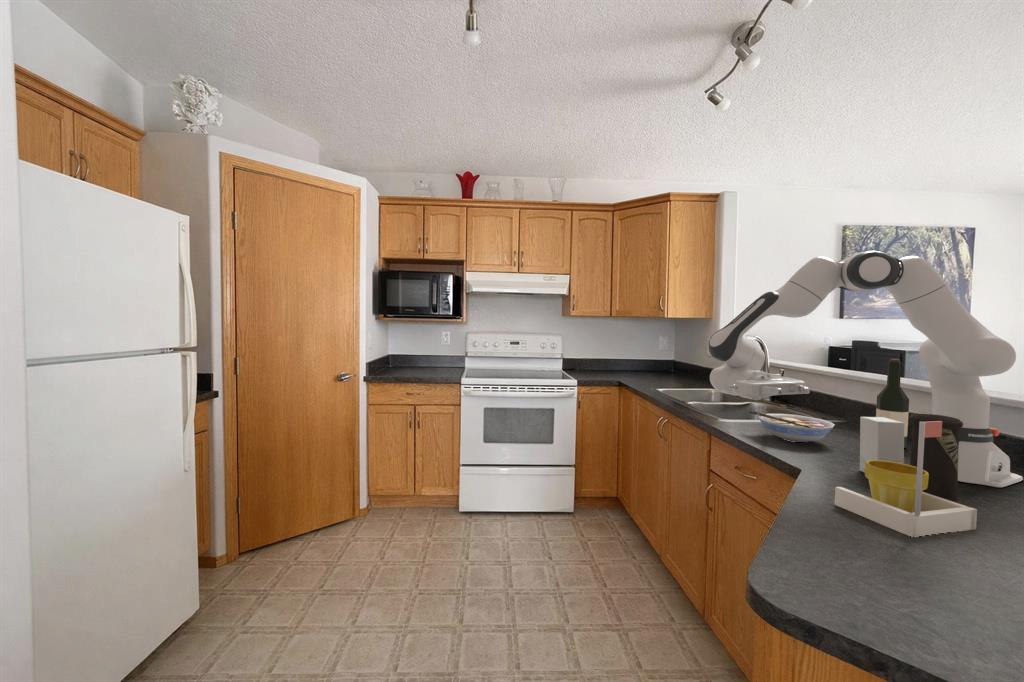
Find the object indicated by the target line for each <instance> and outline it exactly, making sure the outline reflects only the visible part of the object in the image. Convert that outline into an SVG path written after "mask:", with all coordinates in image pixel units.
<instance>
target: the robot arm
mask: <svg viewBox="0 0 1024 682" xmlns="http://www.w3.org/2000/svg"><path fill="white" fill-rule="evenodd" d="M837 288H838V289H843V290H844V291H845V290H846V291H851V292H865V291H870V290H877V289H882V288H884V289H885V290H886V291H888V292H889V293H890V294H891V295H892V297H893V299H894V301H895V302H896V303H897V305H898V306H899V308H900V309H901V310H902V313H903V314H904V315H905V317H906V318H907V320H908V322H910V325H912V327H913V328H914V329H915V330H917V331H918V332H921V334H923V335H924V336H925V337H926V338H927V339H926V340H924V341H923V342H922V343H921V344H920V347H919V350H918V351H919V352H918V354H919V356H918V357H919V359H920V360H921V361H922V363H923V364H924V366H925V369H926V372H927V377H928V380H929V384H930V390H931V413H930V414H934V415H943V416H948V417H953V418H957V419H959V420H960V421H962V422H963V426H962V427H961V429H959V450H958V482H963V483H968V484H977V485H983V486H989V487H993V488H1004V487H1009V486H1011V485H1013V484H1016V483H1019V482H1021V481H1022V480H1023V481H1024V477H1023V476H1022V475H1019V474H1017V473H1013V472H1011V459H1010V456H1009V455H1007V454H1006V453H1005V452H1004V451H1002V449H1001V448H999V447H998V446H997V445H996V444H995V443H994V437H998V436H999V435H1000V433H1001V431H1000V429H999V428H996V427H995V428H993V427H990V412H991V411H990V410H991V399H990V396H989V395H988V394H987V393H986V391H985V389H984V388H983V385H982V383H981V379H980V378H981V377H991V376H996V375H1001V374H1004V373H1005V372H1008V371H1009V370H1010V369H1011V368H1012V367H1014V364H1015V362H1016V359H1017V354H1016V351H1015V347H1013V345H1012V344H1011V343H1010V342H1008V341H1007V340H1004V339H1002V338H1000V337H999V336H997V335H995V334H994V333H993V332H991V330H989V329H988V328H987V327H986V326H985V325H983V324H982V322H980V321H979V320H977V319H976V317H974V316H973V315H972V314H971V313H970V312H969V311H968V310H967V309H966V308H965V307H964V306H963V304H962V303H961V302H960V300H959V299H958V298H957V296H956V295H955V294H954V292H953V291H952V289H951V288H950V287H949V285H948V284H947V282H946V281H945V280H944V278H943V277H942V276H941V274H939V272H938V271H937V270H936V269H935V267H933V266H932V264H930V263H929V262H928V261H927V260H925V259H924V258H923V257H921V256H919V255H907V256H906V255H905V256H903V257H900V258H897V257H895V256H892V255H890V254H887V252H883V251H878V250H868V251H861V252H857V253H854V254H852V255H850V256H848V257H846V258H845V257H844V258H843V259H841V260H838V261H835V260H834V259H832V258H830V257H827V256H816V257H813V258H811V259H810V260H809V261H807V262H805V264H804V265H802V266H801V267H800V268H799V269H798V270H797V271H795V272H794V274H793V275H792V276H790V278H789V279H788V281H786V282H785V284H783V285H782V286H781V287H779V288H778V289H775V290H774V291H768V292H765V293H763V294H761V295H760V296H759V297H758V298H756V299H755V300H754V301H753V302H751V303H750V304H749V305H748V306H747V307H746V308H744V310H742V311H741V312H740V313H739V314H738V315H736V316H735V317H734V318H733V319H732V320H731V321H729V323H728V324H726V325H725V326H723V327H722V328H720V329H719V330H717V331H716V332H714V333H713V334H712V335H711V337H710V338H709V340H708V351H709V354H710V356H711V357H713V358H714V359H716V360H718V361H721V362H723V364H722V365H720V366H719V367H715V368H713V369H711V372H710V374H709V382H710V384H711V386H712V387H713V388H714V389H715V390H717V392H720V393H723V394H725V395H731V396H739V397H740V398H744V399H749V400H754V401H759V400H763V399H765V398H768V397H773V396H781V395H783V396H784V395H802V394H803V395H805V394H807V395H808V394H810V393H811V392H810V391H811V389H810V387H808V386H807V385H806V384H807V383H806V381H804V380H802V379H797V378H792V377H789V376H788V377H787V376H781V374H780V373H773V372H772V373H771V372H766V371H763V369H764V367H765V364H766V360H767V357H766V353H765V351H764V350H763V349H761V348H760V347H758V346H756V345H755V344H754V343H752V342H750V341H749V340H747V339H745V338H744V337H743V336H744V335H745V334H746V333H747V332H748V331H750V330H751V329H752V328H753V327H754V326H755V325H756V324H757V323H759V322H760V321H761V320H762V319H764V318H766V317H769V316H781V317H785V318H794V319H795V318H803V317H806V316H808V315H810V314H811V313H813V312H814V311H815V310H816V309H817V308H818V307H819V306H820V305H821V303H823V301H825V299H826V298H827V297H828V295H829V294H830V293H832V292H833V291H834V290H836V289H837ZM1023 481H1022V482H1023Z"/></svg>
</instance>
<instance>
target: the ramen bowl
mask: <svg viewBox="0 0 1024 682" xmlns="http://www.w3.org/2000/svg"><path fill="white" fill-rule="evenodd" d="M748 413H749V414H753V415H756V416H757V417H758V419H759V421H760V422H761V424H762V425H763V427H764V428H765V429H766V431H767V432H769V433H770V434H772V435H774V436H776V437H777V438H780V439H781V438H782V439H781V440H783V439H786V440H790V441H795V442H806V443H807V442H812V441H817V440H821V439H822V438H824V437H825V436H827V435H828V434H829V433H830V432H831V431H832V430H833V428H834V426H835V425H836V424H834V423H833V422H831V421H828V420H825V419H821V418H817V417H811V416H805V415H804V416H803V415H799V414H788V413H762V412H758V411H755V410H753V411H748Z"/></svg>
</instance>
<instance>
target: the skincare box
mask: <svg viewBox="0 0 1024 682" xmlns="http://www.w3.org/2000/svg"><path fill="white" fill-rule="evenodd" d="M859 418H860V421H859V423H860V424H859V427H860V428H859V471H860V472H863V474H865V463H866V461H868V460H884V461H892V462H898V463H903V464H905V449H904V425H905V423H903V422H899V421H895V420H892V419H888V418H885V417H876V416H860V417H859Z"/></svg>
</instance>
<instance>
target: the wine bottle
mask: <svg viewBox="0 0 1024 682" xmlns="http://www.w3.org/2000/svg"><path fill="white" fill-rule="evenodd" d="M901 375H902V361H900V358H889V360H888V361H887V376H886V377H887V378H886V385H885V387H884V388H883V389H881V391H880V392H879V393H878V394H877V396H876V406H875V407H876V408H875V409H876V410H875V417H885V418H888V419H892V420H895V421H899V422H903V423H905V425H904V447H907V446H908V428H909V427H908V426H909V409H910V399H909V397H908V395H907V394H906V393H905V391H904V389H902V387H901V378H902V377H901ZM907 448H908V447H907Z"/></svg>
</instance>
